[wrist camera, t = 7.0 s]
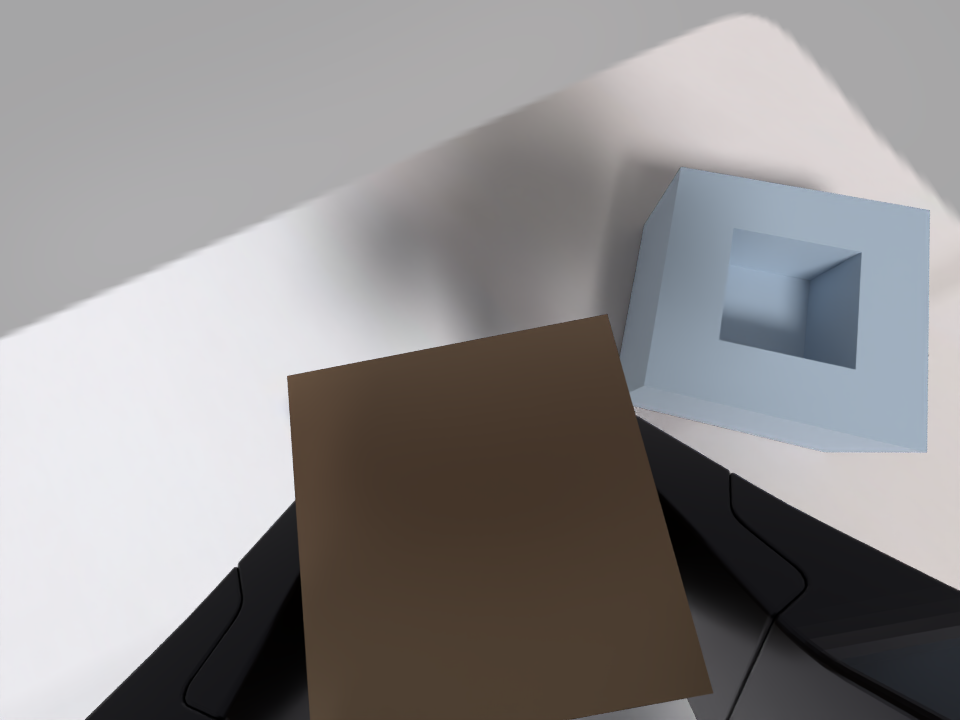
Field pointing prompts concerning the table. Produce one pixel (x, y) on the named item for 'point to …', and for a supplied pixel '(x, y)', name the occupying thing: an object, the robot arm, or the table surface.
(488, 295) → the table surface
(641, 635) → the walnut peg
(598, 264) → the table surface
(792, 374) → the slate-blue holder
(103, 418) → the table surface
